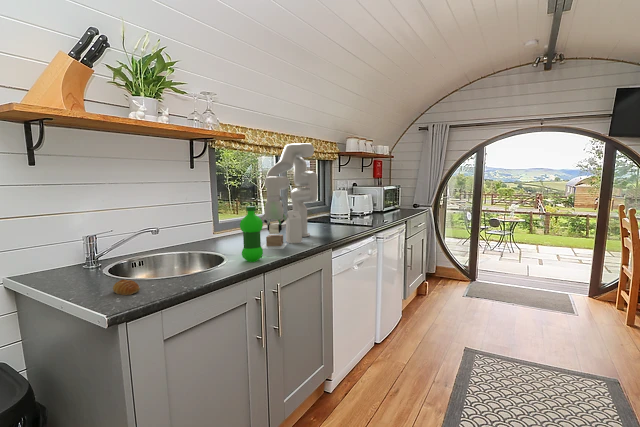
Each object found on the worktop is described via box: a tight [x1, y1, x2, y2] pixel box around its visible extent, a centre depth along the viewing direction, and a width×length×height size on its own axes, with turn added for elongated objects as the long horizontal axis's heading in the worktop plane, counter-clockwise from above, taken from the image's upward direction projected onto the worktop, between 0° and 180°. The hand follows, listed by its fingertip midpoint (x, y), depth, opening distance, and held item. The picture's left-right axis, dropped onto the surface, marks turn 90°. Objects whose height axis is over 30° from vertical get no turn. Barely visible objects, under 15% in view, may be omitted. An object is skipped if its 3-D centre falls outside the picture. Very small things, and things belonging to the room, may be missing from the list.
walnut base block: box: [265, 234, 284, 246], centre depth 190 cm, size 8×8×5 cm
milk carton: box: [285, 210, 303, 244], centre depth 197 cm, size 7×7×19 cm
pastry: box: [112, 279, 141, 296], centre depth 114 cm, size 9×7×4 cm
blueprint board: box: [261, 242, 289, 250], centre depth 186 cm, size 16×13×1 cm
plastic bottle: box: [239, 205, 264, 263], centre depth 156 cm, size 10×10×25 cm
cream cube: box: [268, 223, 281, 235], centre depth 189 cm, size 5×5×5 cm
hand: (274, 231), depth 189 cm, fingers closed on cream cube, 5 cm apart
